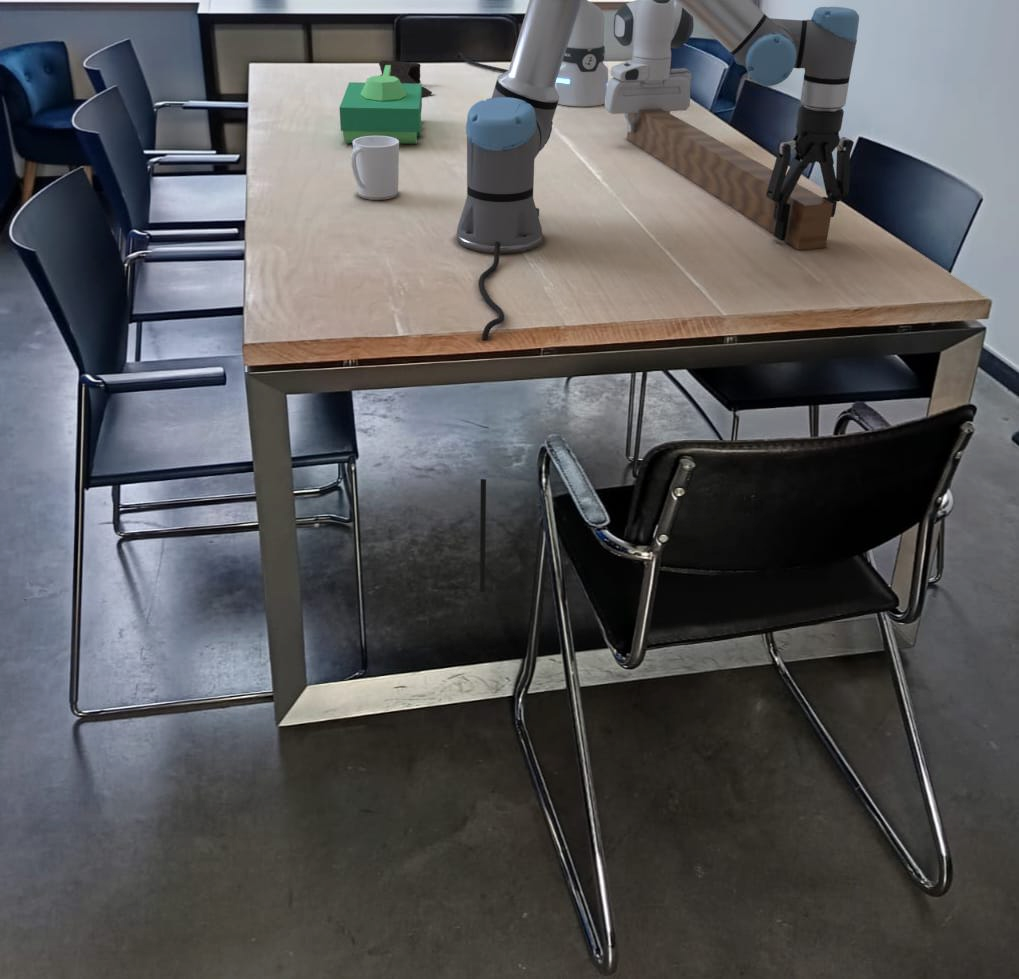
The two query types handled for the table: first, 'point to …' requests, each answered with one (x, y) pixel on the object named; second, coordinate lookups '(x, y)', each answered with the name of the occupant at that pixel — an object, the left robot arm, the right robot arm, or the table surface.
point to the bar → (730, 176)
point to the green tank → (382, 109)
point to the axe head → (405, 72)
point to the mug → (376, 166)
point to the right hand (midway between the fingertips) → (645, 131)
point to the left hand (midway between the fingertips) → (800, 236)
